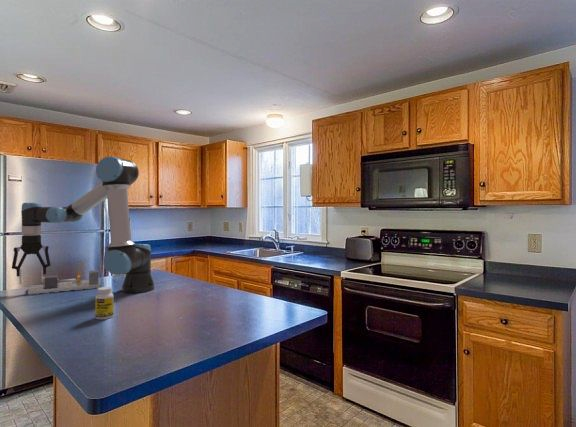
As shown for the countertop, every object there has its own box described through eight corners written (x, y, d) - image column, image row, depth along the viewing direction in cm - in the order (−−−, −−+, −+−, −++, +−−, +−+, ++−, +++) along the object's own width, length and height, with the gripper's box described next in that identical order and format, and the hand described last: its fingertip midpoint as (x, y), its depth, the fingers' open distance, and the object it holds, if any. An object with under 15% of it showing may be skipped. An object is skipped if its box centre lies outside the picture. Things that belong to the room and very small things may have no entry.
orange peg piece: (80, 280, 187) (80, 271, 187) (80, 281, 185) (80, 271, 184) (76, 280, 186) (76, 271, 186) (77, 281, 184) (77, 272, 184)
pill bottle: (94, 320, 129) (94, 290, 129) (95, 316, 134) (95, 287, 134) (113, 318, 132) (113, 289, 131) (113, 314, 137) (113, 285, 137)
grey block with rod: (76, 281, 186) (76, 272, 186) (76, 285, 177) (76, 275, 177) (44, 284, 178) (44, 274, 178) (42, 288, 170) (42, 278, 170)
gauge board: (98, 283, 192) (98, 268, 192) (100, 287, 181) (100, 272, 181) (30, 289, 176) (30, 273, 176) (28, 295, 165) (28, 278, 165)
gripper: (57, 233, 178) (57, 278, 178) (5, 235, 167) (5, 283, 167) (56, 234, 171) (57, 281, 172) (2, 236, 161) (3, 286, 161)
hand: (31, 282), depth 170 cm, fingers open, 8 cm apart
